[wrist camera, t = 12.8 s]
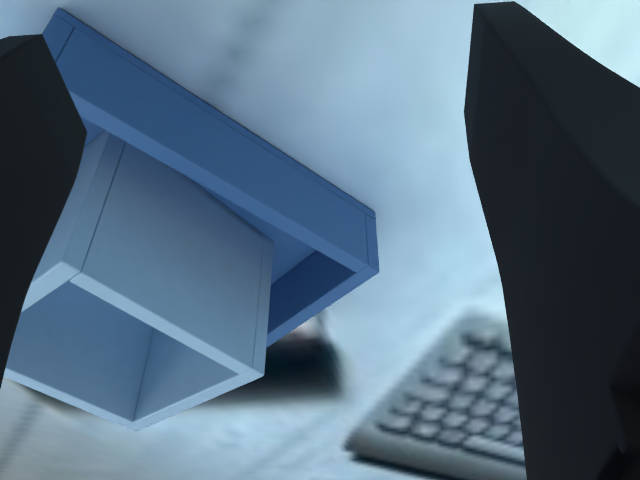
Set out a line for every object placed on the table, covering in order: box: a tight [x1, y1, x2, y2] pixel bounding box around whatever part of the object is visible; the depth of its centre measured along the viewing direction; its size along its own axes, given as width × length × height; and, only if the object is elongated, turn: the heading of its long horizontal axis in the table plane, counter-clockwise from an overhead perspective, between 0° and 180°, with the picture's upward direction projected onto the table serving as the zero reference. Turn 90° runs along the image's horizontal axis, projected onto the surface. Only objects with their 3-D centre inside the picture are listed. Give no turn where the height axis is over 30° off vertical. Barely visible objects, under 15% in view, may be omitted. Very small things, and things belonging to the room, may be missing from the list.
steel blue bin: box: [43, 8, 379, 347], centre depth 27 cm, size 15×13×4 cm
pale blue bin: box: [4, 130, 274, 431], centre depth 25 cm, size 9×8×7 cm
